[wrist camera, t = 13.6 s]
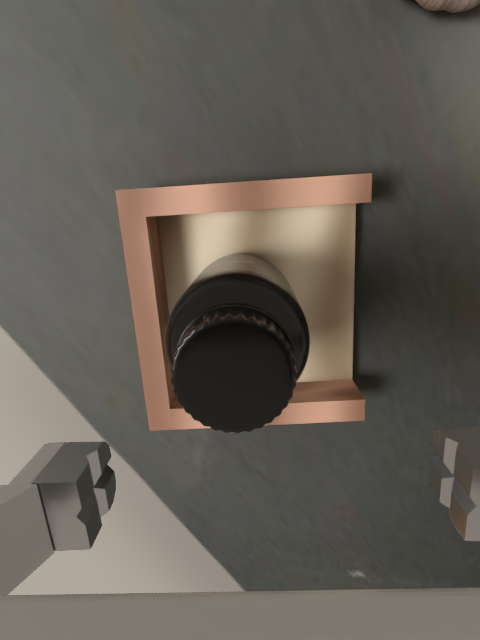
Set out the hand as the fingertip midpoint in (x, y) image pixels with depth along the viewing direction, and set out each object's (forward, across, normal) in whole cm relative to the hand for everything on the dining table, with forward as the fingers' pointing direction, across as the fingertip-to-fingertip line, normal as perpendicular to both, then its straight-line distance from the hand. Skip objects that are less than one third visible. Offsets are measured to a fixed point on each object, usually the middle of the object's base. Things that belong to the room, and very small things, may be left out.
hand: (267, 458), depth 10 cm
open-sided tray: (+18, +1, 0) cm, 18 cm away
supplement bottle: (+17, +1, 0) cm, 17 cm away
